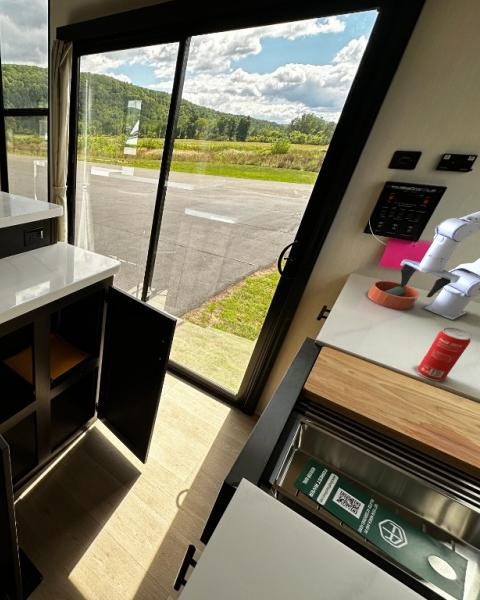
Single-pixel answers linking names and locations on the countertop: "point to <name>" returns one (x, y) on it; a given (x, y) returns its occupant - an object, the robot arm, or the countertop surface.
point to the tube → (396, 291)
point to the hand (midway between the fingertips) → (415, 291)
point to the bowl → (389, 300)
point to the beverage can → (443, 353)
